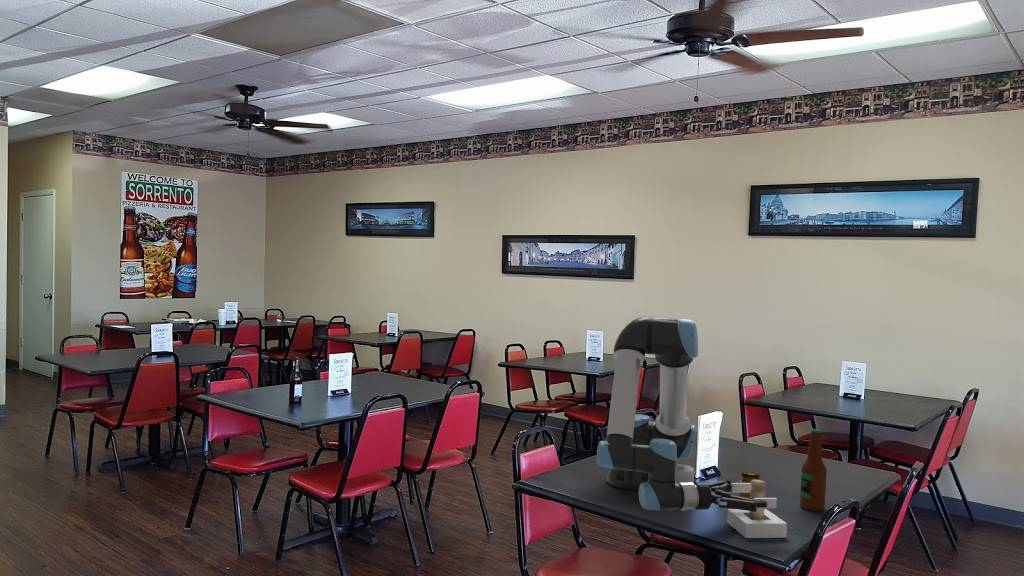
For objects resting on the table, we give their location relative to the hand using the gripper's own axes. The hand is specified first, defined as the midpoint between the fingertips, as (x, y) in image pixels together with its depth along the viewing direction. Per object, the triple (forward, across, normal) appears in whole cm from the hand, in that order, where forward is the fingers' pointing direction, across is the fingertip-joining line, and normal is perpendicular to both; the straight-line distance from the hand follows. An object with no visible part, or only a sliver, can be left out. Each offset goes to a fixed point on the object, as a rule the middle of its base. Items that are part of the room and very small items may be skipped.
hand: (763, 495), depth 208 cm
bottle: (+26, -18, -10) cm, 33 cm away
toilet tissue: (-12, -34, -10) cm, 38 cm away
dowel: (-2, 0, -10) cm, 10 cm away
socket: (-2, 0, -10) cm, 10 cm away
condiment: (+4, -15, -10) cm, 19 cm away
